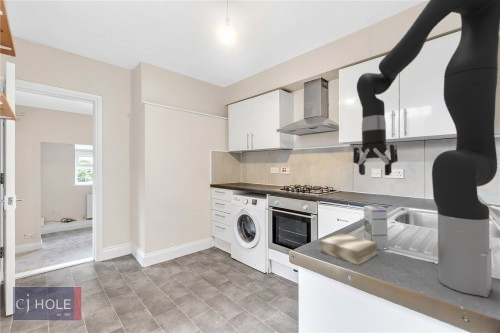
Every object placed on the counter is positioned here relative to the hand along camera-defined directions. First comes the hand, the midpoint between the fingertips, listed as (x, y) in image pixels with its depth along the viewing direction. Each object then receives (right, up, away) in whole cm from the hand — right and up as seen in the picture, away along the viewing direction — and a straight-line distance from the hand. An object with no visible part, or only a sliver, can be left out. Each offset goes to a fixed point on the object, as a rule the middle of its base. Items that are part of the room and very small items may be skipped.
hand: (374, 175), depth 81 cm
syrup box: (+1, -26, 0) cm, 26 cm away
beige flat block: (-12, -26, -5) cm, 29 cm away
